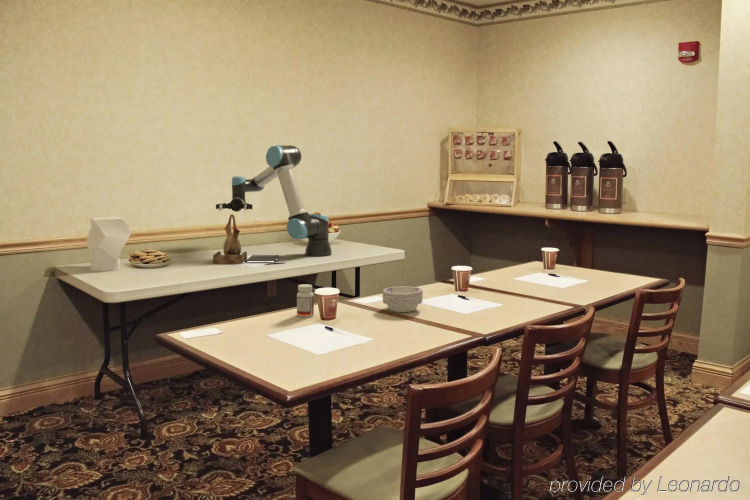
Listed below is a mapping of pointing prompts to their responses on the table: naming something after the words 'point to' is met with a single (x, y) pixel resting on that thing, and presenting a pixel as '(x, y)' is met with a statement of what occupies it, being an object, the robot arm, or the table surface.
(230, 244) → the ceramic vessel
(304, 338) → the table surface
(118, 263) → the white faceted vase
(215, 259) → the holder
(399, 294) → the paper bowls
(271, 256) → the mat
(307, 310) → the pill bottle
